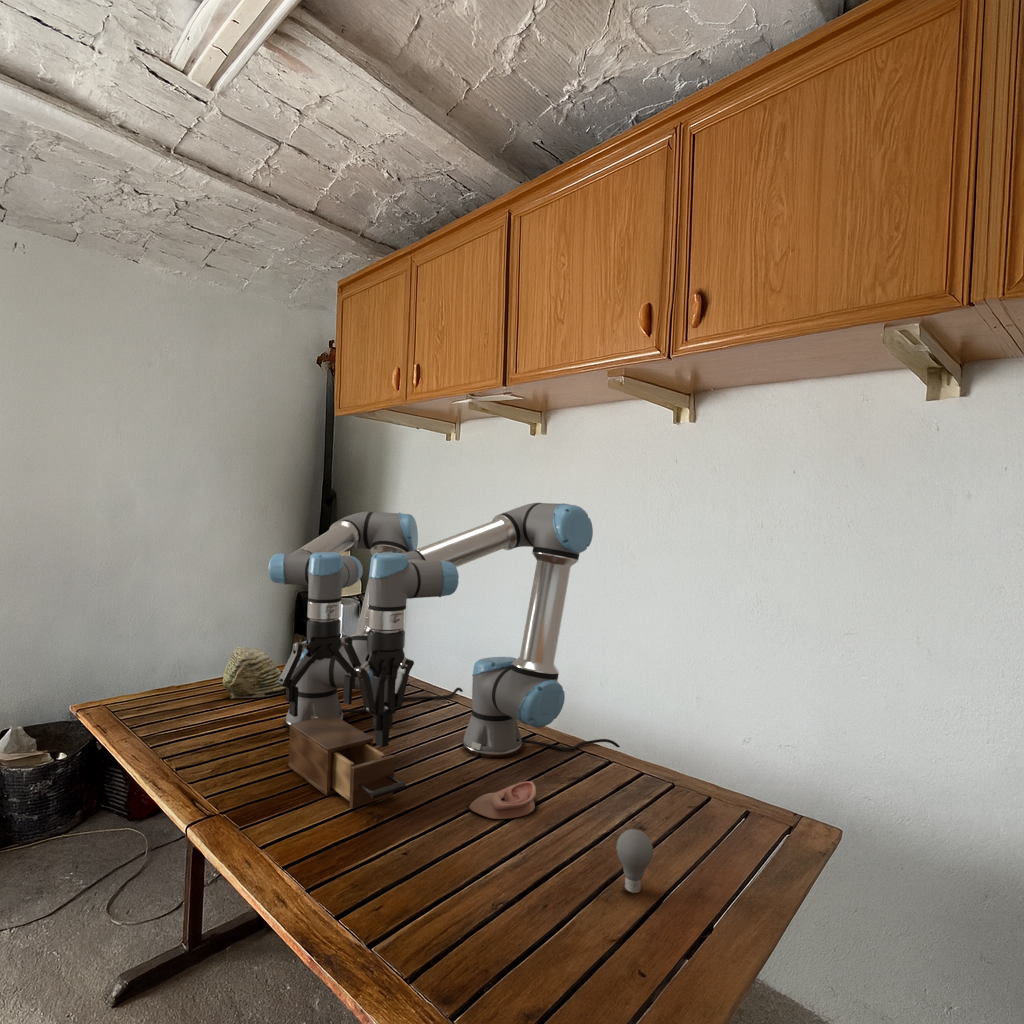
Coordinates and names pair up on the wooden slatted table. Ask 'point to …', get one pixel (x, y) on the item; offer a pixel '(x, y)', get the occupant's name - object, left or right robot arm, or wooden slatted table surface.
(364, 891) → the wooden slatted table surface
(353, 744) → the cabinet
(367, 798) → the drawer
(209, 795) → the wooden slatted table surface
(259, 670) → the fossil
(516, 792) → the anatomical model
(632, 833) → the light bulb
